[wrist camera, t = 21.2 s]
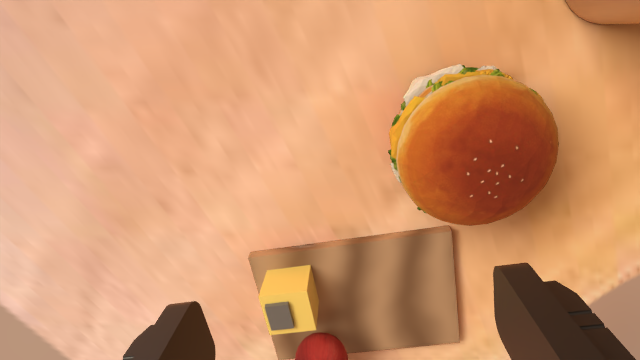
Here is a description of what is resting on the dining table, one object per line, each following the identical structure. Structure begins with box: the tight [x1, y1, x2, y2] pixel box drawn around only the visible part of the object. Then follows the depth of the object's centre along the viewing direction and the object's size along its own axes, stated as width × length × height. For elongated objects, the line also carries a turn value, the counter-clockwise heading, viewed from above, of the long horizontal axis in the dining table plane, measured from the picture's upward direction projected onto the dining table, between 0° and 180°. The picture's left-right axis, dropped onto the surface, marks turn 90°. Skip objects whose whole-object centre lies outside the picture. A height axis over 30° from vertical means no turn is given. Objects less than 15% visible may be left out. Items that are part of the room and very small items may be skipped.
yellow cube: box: [258, 265, 319, 335], centre depth 40 cm, size 5×5×5 cm
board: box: [248, 226, 460, 360], centre depth 44 cm, size 22×18×1 cm
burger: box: [388, 64, 559, 225], centre depth 32 cm, size 14×14×10 cm
